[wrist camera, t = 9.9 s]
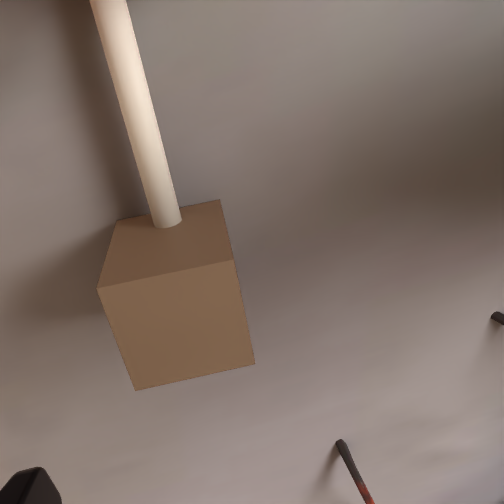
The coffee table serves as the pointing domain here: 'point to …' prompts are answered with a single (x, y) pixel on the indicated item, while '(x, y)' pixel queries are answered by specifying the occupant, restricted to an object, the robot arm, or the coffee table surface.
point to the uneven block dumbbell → (165, 249)
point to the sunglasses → (347, 456)
